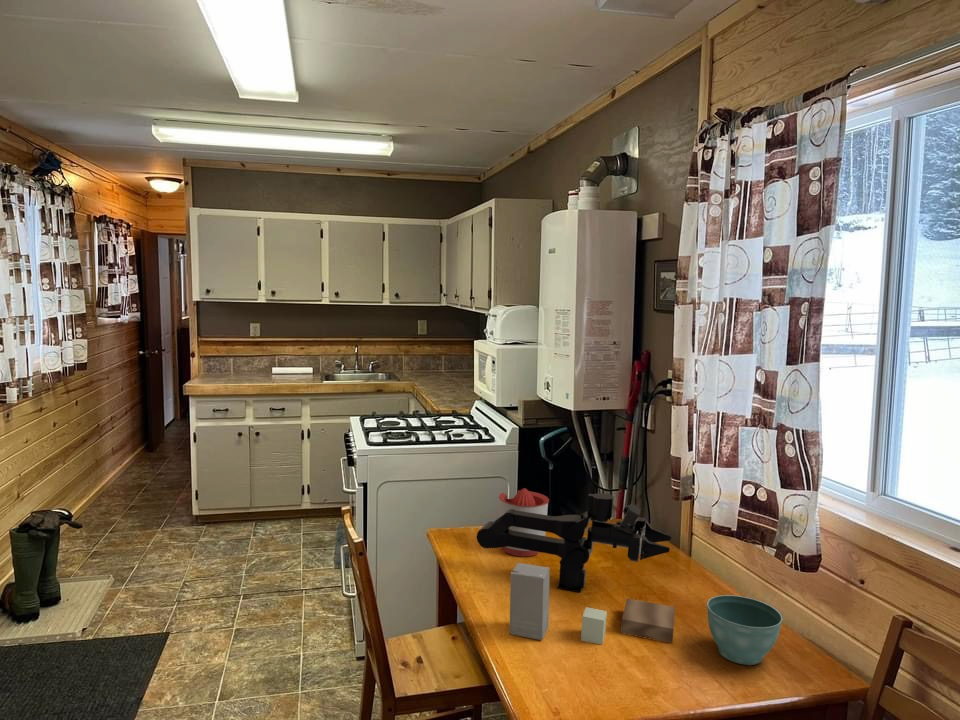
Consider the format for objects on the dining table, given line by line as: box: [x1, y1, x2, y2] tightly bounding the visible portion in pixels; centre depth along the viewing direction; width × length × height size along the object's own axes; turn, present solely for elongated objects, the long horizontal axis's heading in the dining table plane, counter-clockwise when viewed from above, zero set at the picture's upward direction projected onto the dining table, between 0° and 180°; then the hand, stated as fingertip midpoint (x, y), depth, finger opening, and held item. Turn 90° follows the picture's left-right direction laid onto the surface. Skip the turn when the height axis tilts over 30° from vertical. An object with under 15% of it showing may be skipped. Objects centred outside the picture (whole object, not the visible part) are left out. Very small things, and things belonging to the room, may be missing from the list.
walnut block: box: [620, 598, 676, 644], centre depth 169 cm, size 12×12×4 cm
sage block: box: [580, 606, 608, 646], centre depth 162 cm, size 5×5×6 cm
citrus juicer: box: [497, 487, 550, 558], centre depth 214 cm, size 16×17×20 cm
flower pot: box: [706, 594, 783, 666], centre depth 158 cm, size 16×16×11 cm
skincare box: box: [509, 562, 550, 641], centre depth 162 cm, size 8×7×16 cm
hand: (670, 543), depth 181 cm, fingers open, 9 cm apart
